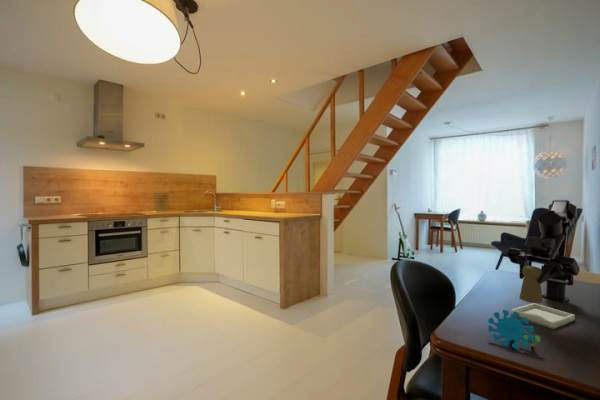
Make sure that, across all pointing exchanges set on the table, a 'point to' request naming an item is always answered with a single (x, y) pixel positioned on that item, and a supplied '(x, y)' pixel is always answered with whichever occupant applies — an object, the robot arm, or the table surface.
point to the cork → (531, 285)
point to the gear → (513, 330)
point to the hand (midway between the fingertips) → (529, 280)
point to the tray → (544, 315)
